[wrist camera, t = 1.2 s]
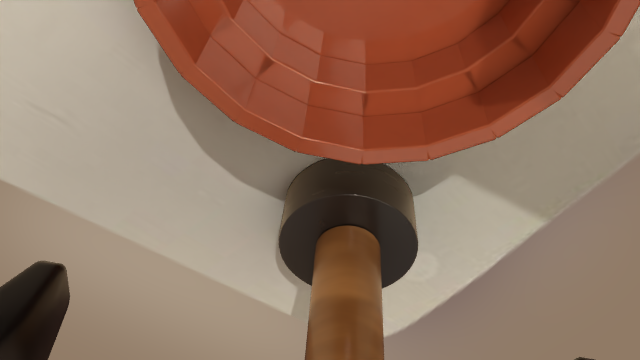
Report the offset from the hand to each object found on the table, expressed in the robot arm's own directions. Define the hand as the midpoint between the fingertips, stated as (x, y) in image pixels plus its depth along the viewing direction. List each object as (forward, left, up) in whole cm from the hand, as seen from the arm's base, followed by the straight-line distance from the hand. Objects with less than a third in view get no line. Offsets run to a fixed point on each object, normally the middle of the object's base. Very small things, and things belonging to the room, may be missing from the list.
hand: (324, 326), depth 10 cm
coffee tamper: (-4, +7, -12) cm, 15 cm away
